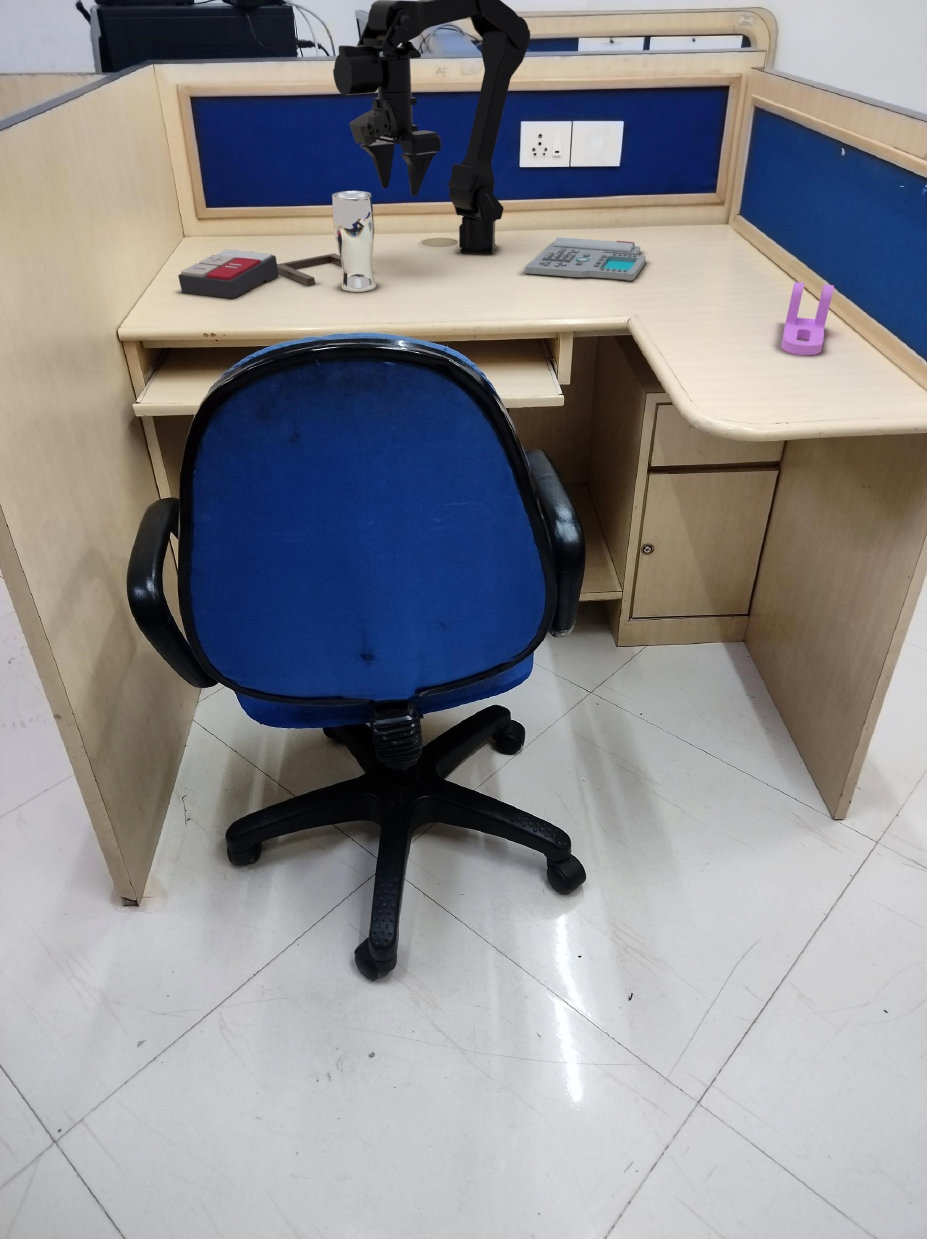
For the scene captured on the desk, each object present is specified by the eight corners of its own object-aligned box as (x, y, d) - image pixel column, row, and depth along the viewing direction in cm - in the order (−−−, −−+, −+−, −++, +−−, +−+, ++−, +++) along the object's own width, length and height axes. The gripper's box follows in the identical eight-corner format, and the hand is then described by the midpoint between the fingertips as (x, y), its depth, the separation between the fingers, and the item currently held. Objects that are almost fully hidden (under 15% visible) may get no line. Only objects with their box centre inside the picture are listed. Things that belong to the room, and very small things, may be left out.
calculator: (175, 270, 146) (224, 245, 156) (181, 296, 148) (229, 269, 159) (229, 276, 142) (275, 250, 153) (234, 302, 145) (279, 275, 156)
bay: (369, 272, 158) (369, 266, 157) (307, 285, 151) (306, 278, 150) (334, 259, 165) (333, 253, 165) (274, 271, 159) (273, 264, 158)
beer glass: (381, 282, 153) (375, 190, 144) (374, 293, 147) (368, 199, 138) (343, 281, 153) (335, 190, 144) (335, 292, 148) (326, 198, 139)
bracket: (784, 325, 132) (795, 279, 128) (822, 329, 131) (833, 282, 127) (780, 352, 123) (791, 303, 118) (820, 357, 121) (833, 307, 117)
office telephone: (555, 232, 172) (653, 239, 167) (554, 245, 174) (652, 253, 169) (525, 259, 155) (634, 267, 149) (524, 274, 156) (632, 283, 151)
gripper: (325, 90, 146) (334, 189, 155) (386, 99, 134) (392, 206, 144) (379, 85, 151) (384, 182, 161) (442, 93, 140) (444, 197, 149)
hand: (399, 191), depth 153 cm, fingers open, 9 cm apart
